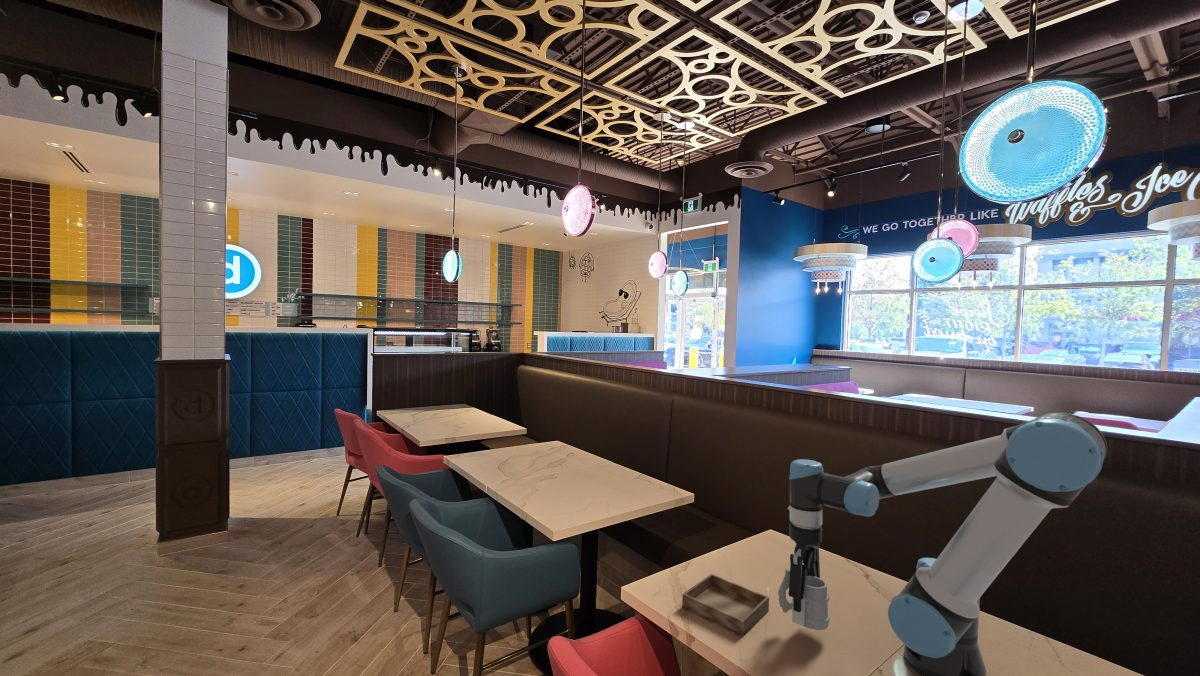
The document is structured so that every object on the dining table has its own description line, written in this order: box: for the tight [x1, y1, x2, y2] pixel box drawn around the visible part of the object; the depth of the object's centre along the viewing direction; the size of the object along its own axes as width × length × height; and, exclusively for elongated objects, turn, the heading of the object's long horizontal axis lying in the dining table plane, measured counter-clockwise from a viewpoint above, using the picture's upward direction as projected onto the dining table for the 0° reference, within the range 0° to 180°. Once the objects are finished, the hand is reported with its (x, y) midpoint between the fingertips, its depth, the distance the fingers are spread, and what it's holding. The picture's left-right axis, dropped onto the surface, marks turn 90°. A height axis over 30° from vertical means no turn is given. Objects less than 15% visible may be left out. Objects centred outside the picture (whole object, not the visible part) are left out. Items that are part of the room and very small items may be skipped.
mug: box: [777, 567, 831, 631], centre depth 120 cm, size 8×12×12 cm, turn 71°
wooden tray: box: [681, 573, 770, 638], centre depth 130 cm, size 17×15×4 cm
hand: (804, 615), depth 121 cm, fingers closed on mug, 7 cm apart
